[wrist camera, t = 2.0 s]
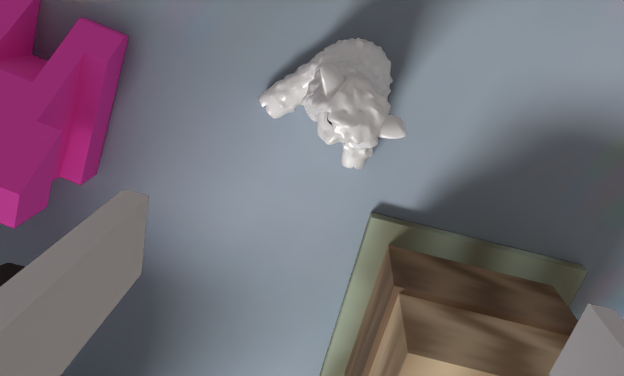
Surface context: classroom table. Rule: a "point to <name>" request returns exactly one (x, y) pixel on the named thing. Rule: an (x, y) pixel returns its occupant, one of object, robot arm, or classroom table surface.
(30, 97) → the bracket
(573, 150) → the classroom table surface
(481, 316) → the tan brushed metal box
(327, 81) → the seated beast figurine
